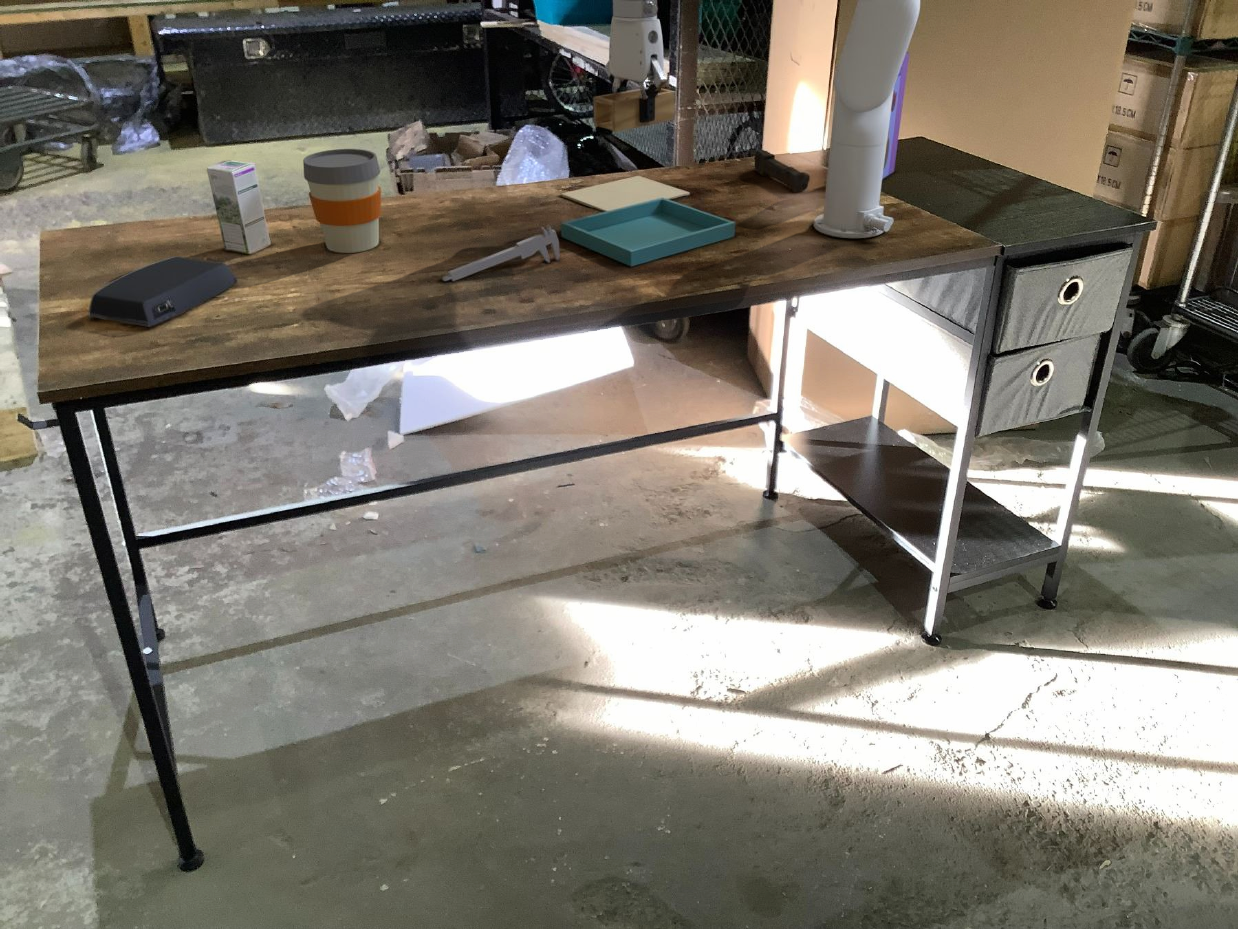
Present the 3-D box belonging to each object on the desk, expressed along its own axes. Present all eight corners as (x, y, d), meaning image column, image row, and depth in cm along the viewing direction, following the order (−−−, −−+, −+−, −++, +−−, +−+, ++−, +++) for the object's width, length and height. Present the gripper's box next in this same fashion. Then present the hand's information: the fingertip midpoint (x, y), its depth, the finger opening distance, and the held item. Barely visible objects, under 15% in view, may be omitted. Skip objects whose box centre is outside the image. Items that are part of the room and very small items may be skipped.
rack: (674, 119, 185) (675, 91, 183) (615, 131, 178) (614, 102, 175) (652, 114, 189) (653, 86, 187) (593, 125, 182) (593, 96, 179)
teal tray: (734, 237, 180) (735, 222, 179) (631, 267, 168) (631, 251, 166) (662, 211, 193) (662, 197, 192) (561, 237, 181) (560, 222, 179)
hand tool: (809, 191, 203) (811, 168, 201) (791, 193, 202) (793, 170, 200) (766, 168, 219) (768, 146, 216) (749, 170, 218) (751, 147, 215)
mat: (689, 194, 202) (689, 192, 202) (610, 214, 192) (610, 212, 191) (638, 177, 213) (638, 175, 213) (560, 195, 203) (560, 193, 202)
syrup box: (272, 244, 179) (256, 161, 171) (248, 255, 174) (231, 170, 167) (247, 240, 181) (230, 158, 173) (223, 251, 176) (204, 166, 169)
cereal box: (863, 192, 203) (877, 64, 190) (840, 188, 205) (853, 62, 193) (893, 171, 215) (909, 50, 203) (872, 168, 217) (886, 48, 205)
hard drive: (85, 318, 151) (77, 292, 149) (177, 274, 166) (172, 250, 164) (154, 331, 147) (147, 304, 145) (242, 285, 162) (237, 260, 160)
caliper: (557, 259, 171) (555, 222, 168) (560, 261, 170) (558, 224, 167) (442, 280, 163) (438, 242, 160) (444, 283, 162) (440, 245, 159)
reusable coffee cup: (403, 243, 179) (393, 156, 171) (342, 261, 171) (328, 171, 163) (361, 227, 186) (350, 144, 178) (301, 245, 178) (286, 158, 171)
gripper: (685, 12, 170) (682, 123, 179) (619, 2, 182) (619, 107, 191) (651, 16, 166) (650, 129, 175) (586, 6, 177) (588, 113, 187)
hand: (634, 117), depth 183 cm, fingers closed on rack, 6 cm apart
